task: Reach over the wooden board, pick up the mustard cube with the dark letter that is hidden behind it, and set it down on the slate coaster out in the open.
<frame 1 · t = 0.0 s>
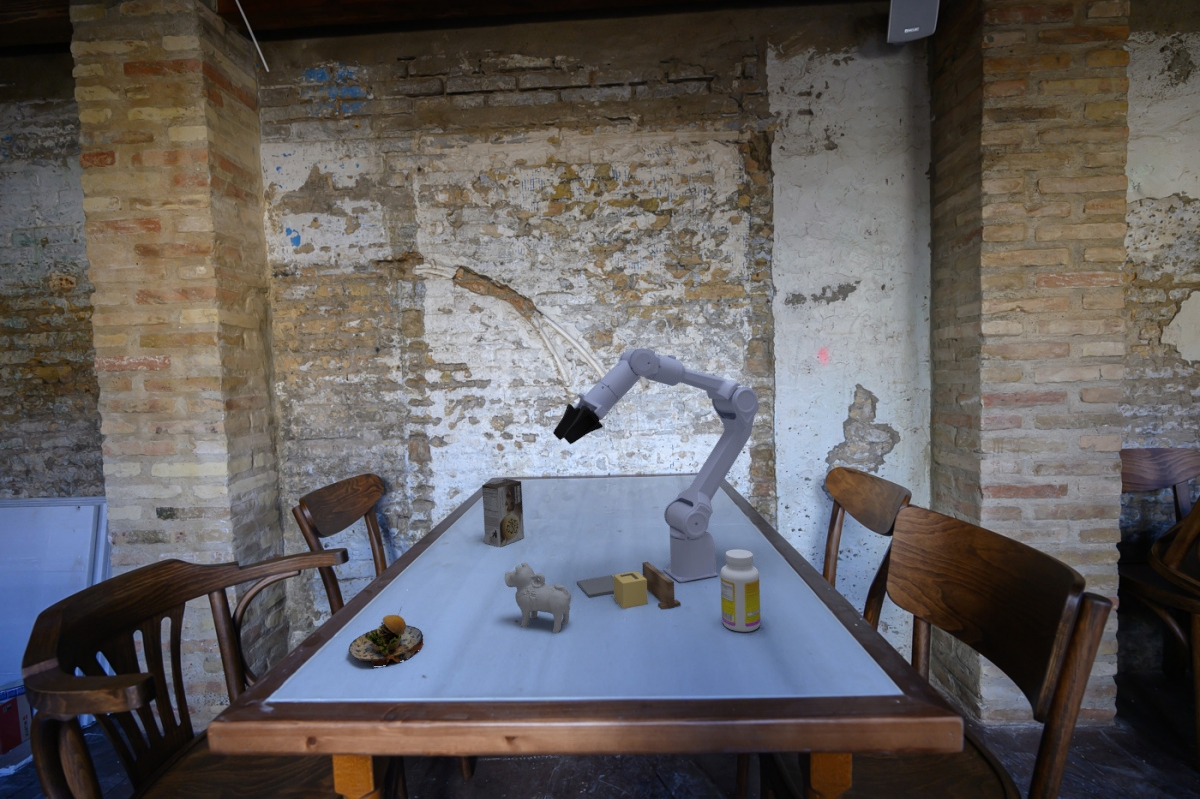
hand: (561, 438, 112), 32 cm above the table, tool tilted 50°, fingers open, 7 cm apart
cube: (630, 601, 110), on the table
wooden board: (658, 596, 112), on the table
burger: (387, 652, 94), on the table
coaster: (600, 587, 117), on the table
supplement bottle: (740, 625, 99), on the table
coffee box: (504, 541, 152), on the table
dog figurine: (539, 624, 102), on the table
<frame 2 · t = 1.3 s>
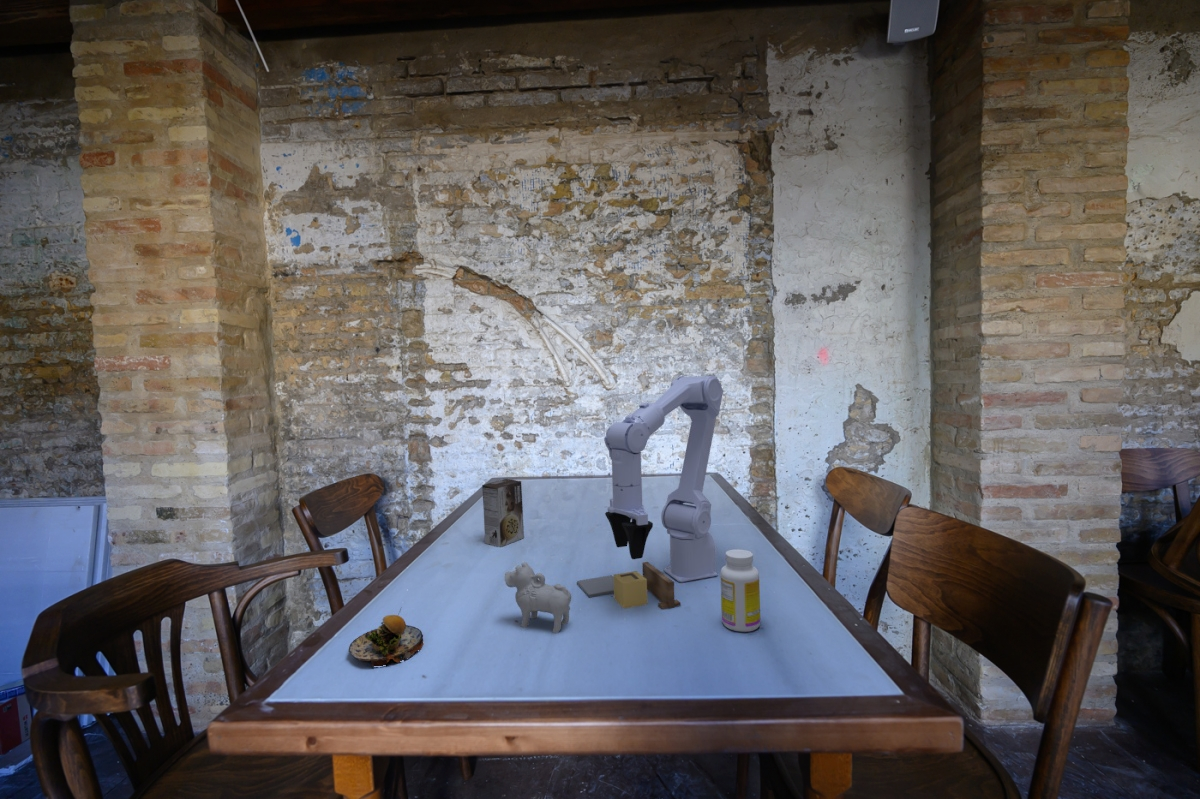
hand: (629, 552, 109), 10 cm above the table, tool pointing down, fingers open, 7 cm apart
nothing on the table moved.
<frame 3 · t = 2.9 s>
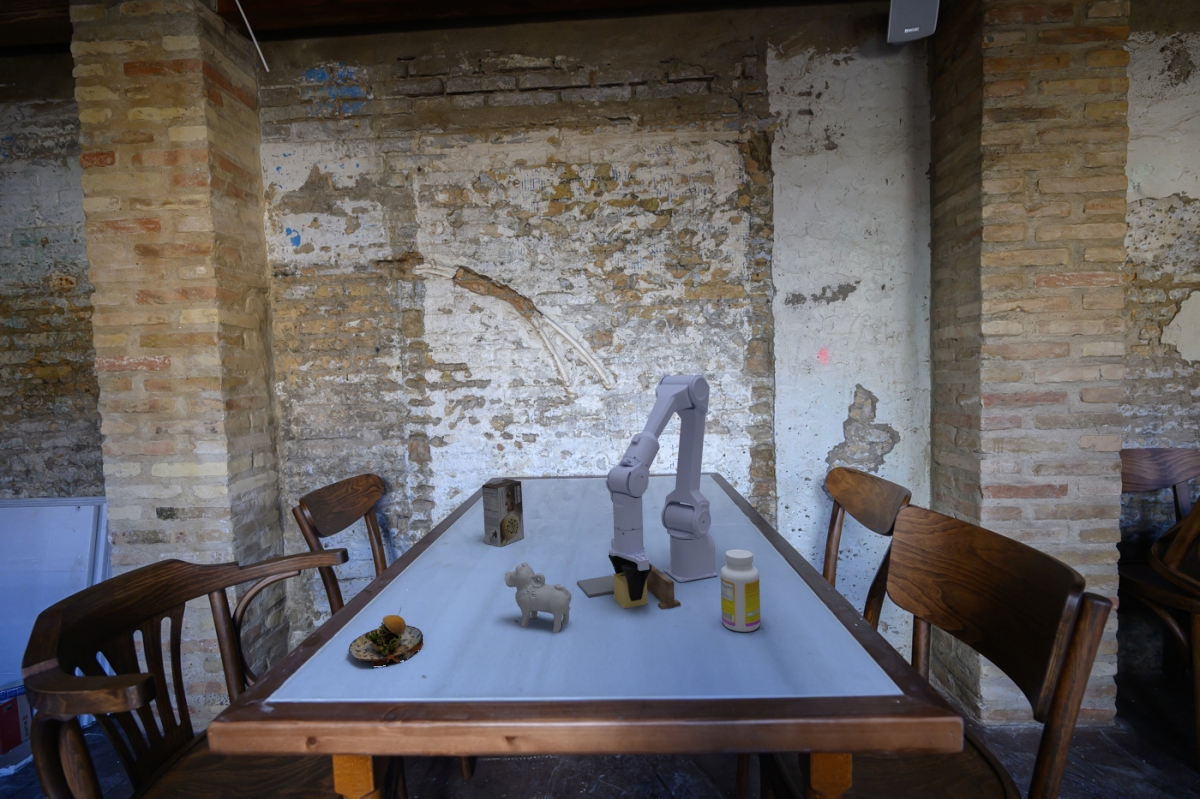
hand: (630, 594, 110), 1 cm above the table, tool pointing down, fingers closed on cube, 5 cm apart
cube: (630, 601, 110), on the table, touching gripper
everything else where it was.
when the fingers open (3 cm above the table, at t = 6.5 s): cube stays where it is, resting on coaster.
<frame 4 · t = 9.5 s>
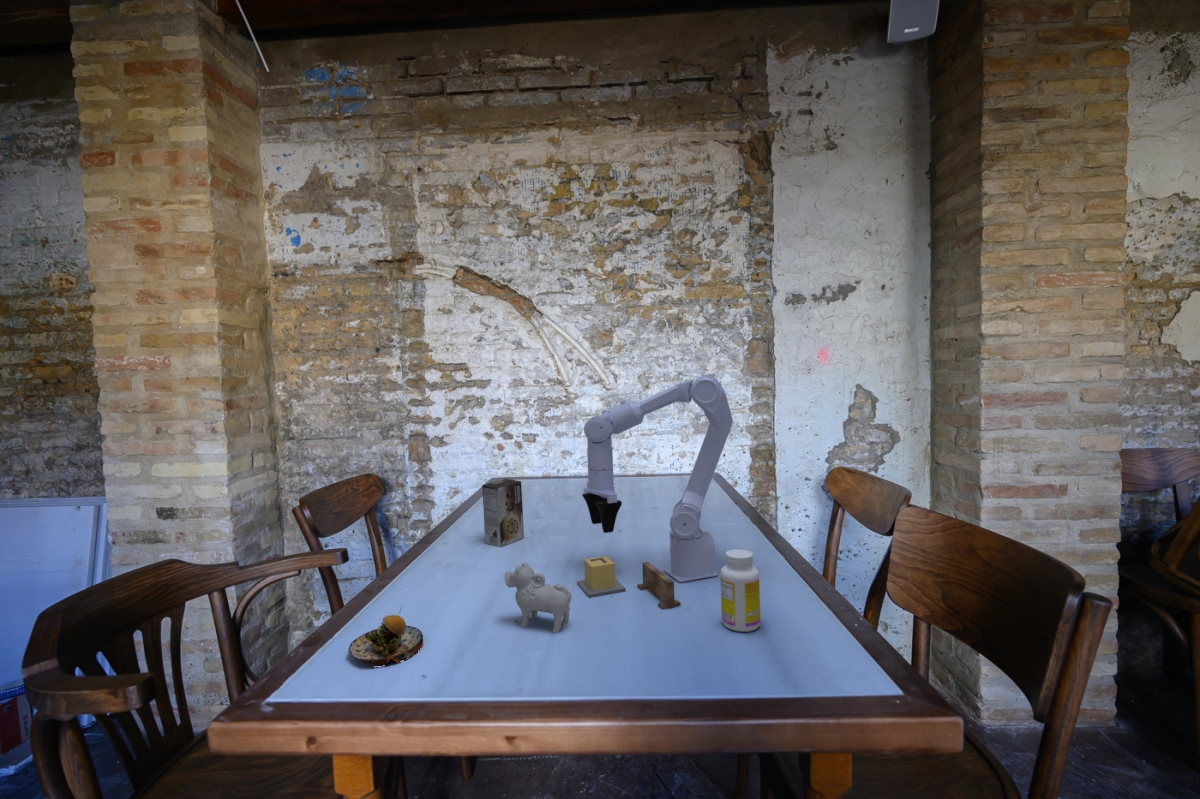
hand: (602, 527, 127), 10 cm above the table, tool pointing down, fingers open, 7 cm apart
cube: (599, 584, 117), point 1 cm above the table, touching coaster
everything else where it was.
at the end: cube inside the target area on the coaster (0.2 cm from its centre), point 0.6 cm above the coaster's base; cube tilted 0°; the gripper is holding nothing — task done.
